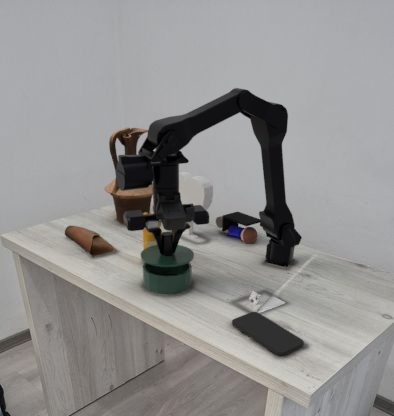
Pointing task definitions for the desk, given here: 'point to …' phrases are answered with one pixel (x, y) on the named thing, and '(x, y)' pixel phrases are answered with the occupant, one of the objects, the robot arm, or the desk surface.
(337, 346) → the desk surface
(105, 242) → the sunglasses case
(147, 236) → the toy
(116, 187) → the pitcher
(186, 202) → the heart sculpture
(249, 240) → the figurine character
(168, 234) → the pot lid
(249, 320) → the phone
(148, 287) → the pot
